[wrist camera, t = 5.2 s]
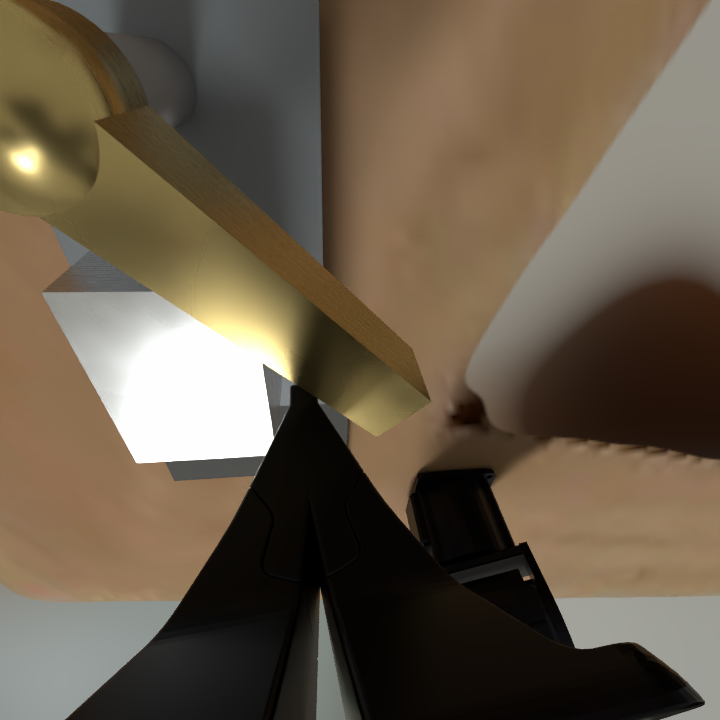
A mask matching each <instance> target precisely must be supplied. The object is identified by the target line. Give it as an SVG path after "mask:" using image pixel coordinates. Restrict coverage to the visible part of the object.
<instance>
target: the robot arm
mask: <svg viewBox="0 0 720 720" xmlns="http://www.w3.org/2000/svg"><path fill="white" fill-rule="evenodd" d="M495 476H496V475H495V473H494V470H492V469H481V470H466V471H452V472H437V473H423V474H419V475H418V476H417V477H416V481H415V485H414V489H413V493H411V494H410V496H409V500H408V504H407V508H406V514H407V518H408V523H409V528H410V530H409V529H408V528H407V527H406V526H405V525H404V524H403V523H402V521H401V520H400V519H399V518H398V517H397V515H396V514H395V513H394V512H393V511H392V509H391V508H390V507H389V506H388V505H387V503H386V502H385V501H384V499H383V498H382V497H381V495H380V494H379V493H378V491H377V490H376V488H375V487H374V486H373V484H372V483H371V481H370V480H369V478H368V477H367V475H366V474H365V473H363V469H362V468H361V466H360V465H359V463H358V462H357V460H356V459H355V457H354V456H353V454H352V453H351V451H350V450H349V448H348V447H347V445H346V444H345V442H344V441H343V439H342V438H341V436H340V435H339V433H338V432H337V430H336V429H335V427H334V426H333V424H332V423H331V421H330V420H329V418H328V417H327V415H326V414H325V412H324V411H323V409H322V408H321V406H320V405H319V403H318V398H317V397H314V396H313V395H311V394H310V393H308V392H307V391H305V390H304V389H302V388H301V387H299V386H298V385H291V386H290V406H289V408H288V410H287V412H286V414H285V416H284V418H283V420H282V422H281V424H280V426H279V428H278V430H277V432H276V434H275V436H274V439H273V441H272V443H271V445H270V447H269V449H268V451H267V453H266V455H265V457H264V459H263V461H262V463H261V465H260V467H259V469H258V471H257V473H256V475H255V477H254V479H253V481H252V483H251V485H250V488H249V489H248V491H247V493H246V495H245V497H244V499H243V501H242V503H241V505H240V507H239V509H238V511H237V512H236V514H235V516H234V518H233V520H232V522H231V524H230V525H229V527H228V529H227V530H226V532H225V534H224V535H223V537H222V538H221V540H220V542H219V543H218V545H217V547H216V548H215V550H214V551H213V553H212V554H211V556H210V558H209V559H208V561H207V562H206V564H205V565H204V567H203V568H202V570H201V571H200V573H199V575H198V576H197V578H196V579H195V581H194V582H193V584H192V585H191V587H190V589H189V590H188V592H187V593H186V595H185V596H184V598H183V599H182V601H181V602H180V604H179V605H178V607H177V608H176V610H175V611H174V613H173V615H172V616H171V617H170V618H169V620H168V621H167V623H166V624H165V625H164V626H163V628H162V629H161V630H160V631H159V633H158V634H157V635H156V636H155V637H154V638H153V639H152V640H151V641H150V642H149V643H148V644H147V645H146V646H145V647H144V648H143V649H142V650H141V651H140V652H139V653H138V654H136V656H134V657H133V658H132V659H131V660H130V661H129V662H128V663H127V664H126V665H124V666H123V667H122V668H121V669H120V670H119V671H118V672H117V673H116V674H115V675H114V676H112V677H111V678H110V679H109V680H108V681H107V682H106V683H105V684H104V685H103V686H101V687H100V688H99V689H98V690H97V691H96V692H95V693H94V694H93V695H92V696H91V697H89V698H88V699H87V700H86V701H85V702H84V703H83V704H82V705H81V706H80V707H79V708H77V709H76V710H75V711H74V712H73V713H72V714H71V715H70V716H69V717H68V718H66V719H65V720H316V703H317V671H318V660H317V658H318V637H319V603H320V589H321V594H322V599H323V604H324V609H325V614H326V619H327V624H328V630H329V635H330V640H331V645H332V650H333V654H334V660H335V666H336V671H337V676H338V681H339V686H340V691H341V697H342V702H343V707H344V711H345V716H346V720H660V719H663V718H666V717H670V716H673V715H676V714H679V713H682V712H685V711H689V710H692V709H695V708H698V707H701V706H703V705H704V704H705V701H704V700H703V699H702V697H701V696H700V695H699V694H698V693H697V692H696V691H695V690H694V689H693V688H692V687H691V686H690V685H689V683H688V682H687V681H685V680H684V679H683V678H682V677H681V676H680V675H679V674H678V673H677V672H675V671H674V670H673V669H671V668H670V667H669V666H667V665H666V664H665V663H664V662H663V661H661V660H660V659H658V658H657V657H656V656H654V655H653V654H652V653H650V652H649V651H647V650H646V649H645V648H644V647H642V646H640V645H639V644H637V643H630V642H625V643H617V644H611V645H607V646H602V647H598V648H593V649H577V648H575V647H574V644H573V642H572V639H571V636H570V634H569V631H568V629H567V627H566V624H565V622H564V620H563V617H562V615H561V613H560V611H559V609H558V606H557V604H556V602H555V600H554V598H553V596H552V594H551V591H550V589H549V587H548V585H547V583H546V581H545V579H544V577H543V575H542V573H541V571H540V569H539V567H538V565H537V563H536V561H535V558H534V556H533V554H532V552H531V550H530V548H529V546H528V544H527V542H523V543H519V545H518V546H515V544H514V541H513V539H512V537H511V534H510V532H509V530H508V527H507V525H506V523H505V520H504V518H503V516H502V513H501V511H500V508H499V506H498V504H497V501H496V499H495V497H494V494H493V492H492V490H491V487H490V486H491V484H492V482H493V480H494V478H495ZM528 575H529V576H530V580H526V581H524V580H523V578H522V577H524V576H528Z"/></svg>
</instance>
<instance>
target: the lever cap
mask: <svg viewBox="0 0 720 720" xmlns="http://www.w3.org/2000/svg"><path fill="white" fill-rule="evenodd" d="M41 293H42V295H43V296H44V298H45V300H46V302H47V303H48V305H49V307H50V309H51V311H52V312H53V314H54V316H55V318H56V319H57V321H58V323H59V325H60V327H61V328H62V330H63V332H64V334H65V336H66V337H67V339H68V341H69V343H70V344H71V346H72V348H73V350H74V352H75V353H76V355H77V357H78V359H79V361H80V362H81V364H82V366H83V368H84V369H85V371H86V373H87V375H88V377H89V378H90V380H91V382H92V384H93V386H94V387H95V389H96V391H97V393H98V394H99V396H100V398H101V400H102V402H103V403H104V405H105V407H106V409H107V411H108V412H109V414H110V416H111V418H112V419H113V421H114V423H115V425H116V427H117V428H118V430H119V432H120V434H121V436H122V437H123V439H124V441H125V443H126V444H127V446H128V448H129V450H130V452H131V453H132V455H133V457H134V459H135V461H136V462H137V463H145V462H162V461H179V460H196V459H213V458H231V457H248V456H265V455H266V453H267V451H268V449H269V447H270V445H271V443H272V441H273V439H274V436H275V434H276V432H277V430H278V425H279V413H280V401H281V389H282V377H283V376H282V375H281V374H279V373H278V372H276V371H275V370H273V369H271V368H270V367H268V366H267V365H265V364H264V363H262V362H261V361H259V360H258V359H256V358H255V357H253V356H252V355H250V354H248V353H247V352H245V351H244V350H242V349H241V348H239V347H238V346H236V345H235V344H233V343H232V342H230V341H228V340H227V339H225V338H224V337H222V336H221V335H219V334H218V333H216V332H215V331H213V330H212V329H210V328H209V327H207V326H205V325H204V324H202V323H201V322H199V321H198V320H196V319H195V318H193V317H192V316H190V315H189V314H187V313H185V312H184V311H182V310H181V309H179V308H178V307H176V306H175V305H173V304H172V303H170V302H169V301H167V300H165V299H164V298H162V297H161V296H159V295H158V294H156V293H155V292H153V291H152V290H150V289H149V288H147V287H146V286H144V285H142V284H141V283H139V282H138V281H136V280H135V279H133V278H132V277H130V276H129V275H127V274H126V273H124V272H122V271H121V270H119V269H118V268H116V267H115V266H113V265H112V264H110V263H109V262H107V261H106V260H104V259H103V258H101V257H99V256H98V255H96V254H95V253H93V252H92V251H89V252H87V253H86V254H85V255H84V256H83V257H82V258H81V259H79V260H78V261H77V262H76V263H75V264H74V265H72V266H71V267H70V268H69V269H68V270H67V271H66V272H64V273H63V274H62V275H61V276H60V277H59V278H58V279H56V280H55V281H54V282H53V283H52V284H51V285H49V286H48V287H47V288H46V289H45V290H44V291H43V292H41Z"/></svg>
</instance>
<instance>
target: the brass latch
mask: <svg viewBox="0 0 720 720" xmlns="http://www.w3.org/2000/svg"><path fill="white" fill-rule="evenodd" d="M0 210H1V211H5V212H8V213H13V214H18V215H25V216H38V217H40V218H41V219H43V220H44V221H46V222H47V223H49V224H50V225H52V226H53V227H55V228H56V229H58V230H60V231H61V232H63V233H64V234H66V235H67V236H69V237H70V238H72V239H73V240H75V241H76V242H78V243H79V244H81V245H83V246H84V247H86V248H87V249H89V250H90V251H92V252H93V253H95V254H96V255H98V256H99V257H101V258H103V259H104V260H106V261H107V262H109V263H110V264H112V265H113V266H115V267H116V268H118V269H119V270H121V271H122V272H124V273H126V274H127V275H129V276H130V277H132V278H133V279H135V280H136V281H138V282H139V283H141V284H142V285H144V286H146V287H147V288H149V289H150V290H152V291H153V292H155V293H156V294H158V295H159V296H161V297H162V298H164V299H165V300H167V301H169V302H170V303H172V304H173V305H175V306H176V307H178V308H179V309H181V310H182V311H184V312H185V313H187V314H189V315H190V316H192V317H193V318H195V319H196V320H198V321H199V322H201V323H202V324H204V325H205V326H207V327H209V328H210V329H212V330H213V331H215V332H216V333H218V334H219V335H221V336H222V337H224V338H225V339H227V340H228V341H230V342H232V343H233V344H235V345H236V346H238V347H239V348H241V349H242V350H244V351H245V352H247V353H248V354H250V355H252V356H253V357H255V358H256V359H258V360H259V361H261V362H262V363H264V364H265V365H267V366H268V367H270V368H271V369H273V370H275V371H276V372H278V373H279V374H281V375H282V376H284V377H285V378H287V379H288V380H290V381H291V382H293V383H295V384H296V385H298V386H299V387H301V388H302V389H304V390H305V391H307V392H308V393H310V394H311V395H313V396H314V397H317V398H318V399H319V400H321V401H322V402H324V403H325V404H327V405H328V406H330V407H331V408H333V409H334V410H336V411H338V412H339V413H341V414H342V415H344V416H345V417H347V418H348V419H350V420H351V421H353V422H354V423H356V424H358V425H359V426H361V427H362V428H364V429H365V430H367V431H368V432H370V433H371V434H373V435H374V436H376V437H378V436H380V435H381V434H383V433H384V432H386V431H387V430H389V429H390V428H392V427H394V426H395V425H397V424H398V423H400V422H401V421H403V420H404V419H406V418H407V417H409V416H410V415H412V414H414V413H415V412H417V411H418V410H420V409H421V408H423V407H424V406H426V405H427V404H429V403H430V402H431V400H430V397H429V394H428V391H427V389H426V386H425V383H424V380H423V377H422V375H421V372H420V369H419V366H418V363H417V361H416V358H415V355H414V352H413V349H412V348H411V347H410V346H409V345H408V344H407V343H406V342H404V341H403V340H402V339H401V338H400V337H399V336H398V335H397V334H396V333H395V332H394V331H393V330H391V329H390V328H389V327H388V326H387V325H386V324H385V323H384V322H383V321H382V320H381V319H380V318H378V317H377V316H376V315H375V314H374V313H373V312H372V311H371V310H370V309H369V308H368V307H367V306H365V305H364V304H363V303H362V302H361V301H360V300H359V299H358V298H357V297H356V296H355V295H354V294H352V293H351V292H350V291H349V290H348V289H347V288H346V287H345V286H344V285H343V284H342V283H341V282H339V281H338V280H337V279H336V278H335V277H334V276H333V275H332V274H331V273H330V272H329V271H328V270H326V269H325V268H324V267H323V266H322V265H321V264H320V263H319V262H318V261H317V260H316V259H315V258H313V257H312V256H311V255H310V254H309V253H308V252H307V251H306V250H305V249H304V248H303V247H302V246H300V245H299V244H298V243H297V242H296V241H295V240H294V239H293V238H292V237H291V236H290V235H289V234H287V233H286V232H285V231H284V230H283V229H282V228H281V227H280V226H279V225H278V224H277V223H276V222H274V221H273V220H272V219H271V218H270V217H269V216H268V215H267V214H266V213H265V212H264V211H263V210H261V209H260V208H259V207H258V206H257V205H256V204H255V203H254V202H253V201H252V200H251V199H250V198H248V197H247V196H246V195H245V194H244V193H243V192H242V191H241V190H240V189H239V188H238V187H237V186H235V185H234V184H233V183H232V182H231V181H230V180H229V179H228V178H227V177H226V176H225V175H224V174H222V173H221V172H220V171H219V170H218V169H217V168H216V167H215V166H214V165H213V164H212V163H211V162H209V161H208V160H207V159H206V158H205V157H204V156H203V155H202V154H201V153H200V152H199V151H198V150H196V149H195V148H194V147H193V146H192V145H191V144H190V143H189V142H188V141H187V140H186V139H185V138H183V137H182V136H181V135H180V134H179V133H178V132H177V131H176V130H175V129H174V128H173V127H172V126H170V125H169V124H168V123H167V122H166V121H165V120H164V119H163V118H162V117H161V116H160V115H159V114H157V113H156V112H155V111H154V110H153V109H152V108H151V107H150V106H149V104H148V101H147V98H146V94H145V91H144V89H143V87H142V84H141V82H140V80H139V78H138V76H137V74H136V72H135V70H134V69H133V67H132V65H131V64H130V62H129V61H128V59H127V58H126V56H125V55H124V54H123V53H122V51H121V50H120V49H119V48H118V46H117V45H116V44H115V43H114V42H113V41H112V40H111V39H110V38H109V37H108V35H107V34H106V33H104V32H103V31H102V30H101V29H100V28H99V27H98V26H96V25H95V24H94V23H93V22H91V21H90V20H89V19H87V18H86V17H84V16H83V15H81V14H80V13H78V12H76V11H75V10H73V9H71V8H69V7H67V6H65V5H63V4H60V3H58V2H55V1H52V0H0Z"/></svg>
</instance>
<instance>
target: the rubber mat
mask: <svg viewBox="0 0 720 720" xmlns="http://www.w3.org/2000/svg"><path fill="white" fill-rule="evenodd" d="M319 405H320V406H321V408H322V409H323V411H324V412H325V414H326V415H327V417H328V418H329V420H330V421H331V423H332V424H333V426H334V427H335V429H336V430H337V432H338V433H339V435H340V436H341V438H342V439H343V441H344V442H345V444H346V445H347V432H348V418H347V417H345V416H344V415H342V414H341V413H339V412H338V411H336V410H334V409H333V408H331V407H330V406H328V405H327V404H319ZM288 408H289V406H280V413H279V425H278V428H279V426H280V424H281V422H282V420H283V418H284V416H285V414H286V412H287V410H288ZM264 457H265V456H248V457H231V458H213V459H196V460H179V461H165V462H166V464H167V466H168V468H169V470H170V472H171V474H172V477H173V479H174V481H180V480H196V479H212V478H227V477H243V476H255V475H256V473H257V471H258V469H259V467H260V465H261V463H262V461H263V459H264Z"/></svg>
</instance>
